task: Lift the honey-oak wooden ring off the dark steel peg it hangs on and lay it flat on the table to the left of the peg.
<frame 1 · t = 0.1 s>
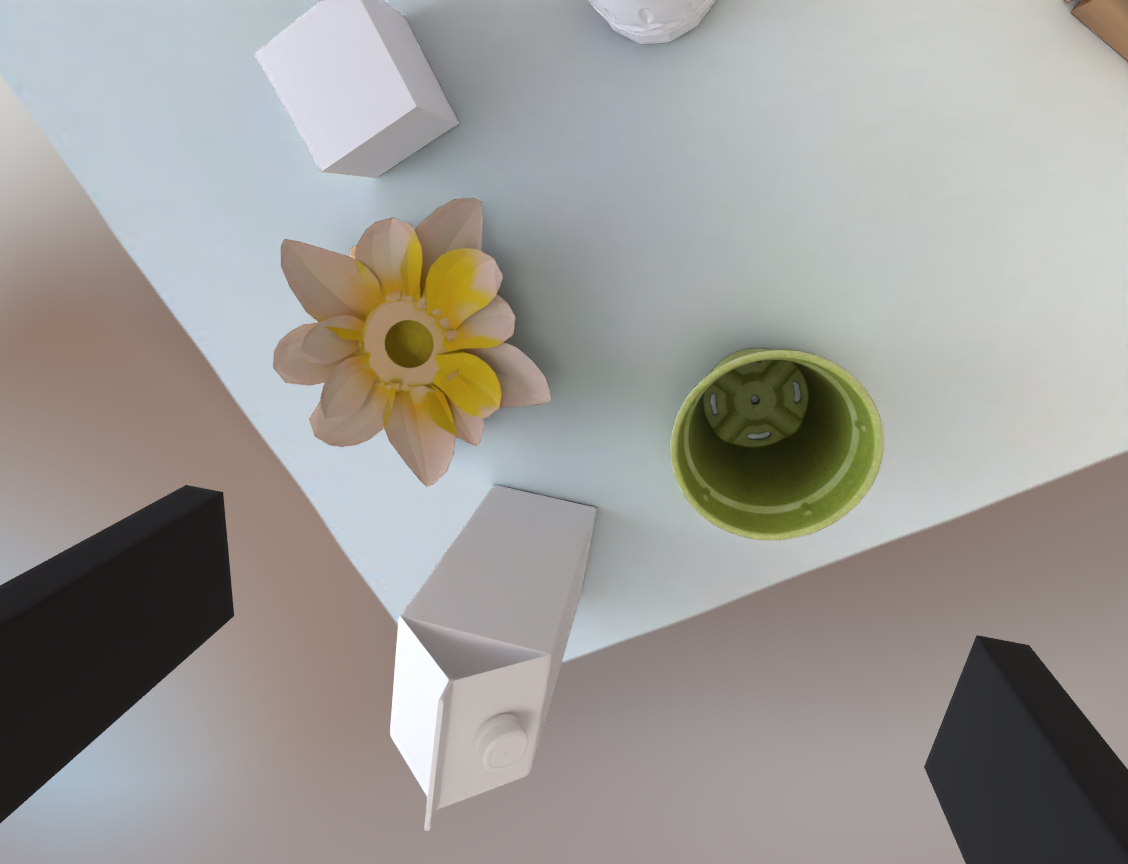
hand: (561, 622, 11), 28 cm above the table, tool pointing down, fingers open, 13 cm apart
decorative flower: (449, 337, 40), on the table
plant pot: (754, 398, 37), on the table
white cube: (391, 101, 36), on the table
milk carton: (538, 539, 43), on the table
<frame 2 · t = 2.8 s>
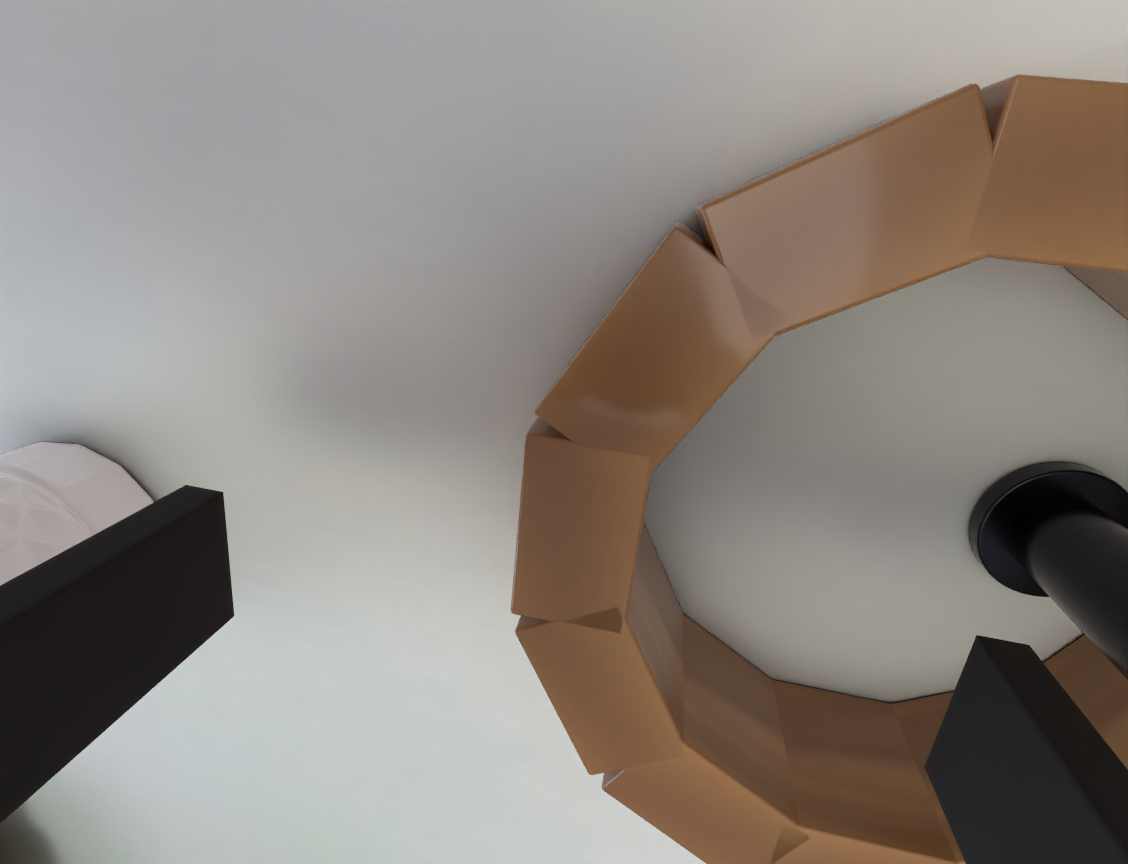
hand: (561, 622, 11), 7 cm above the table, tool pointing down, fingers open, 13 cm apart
white cup: (93, 526, 23), on the table
ring: (892, 500, 17), on the table
peg: (1044, 525, 16), on the table
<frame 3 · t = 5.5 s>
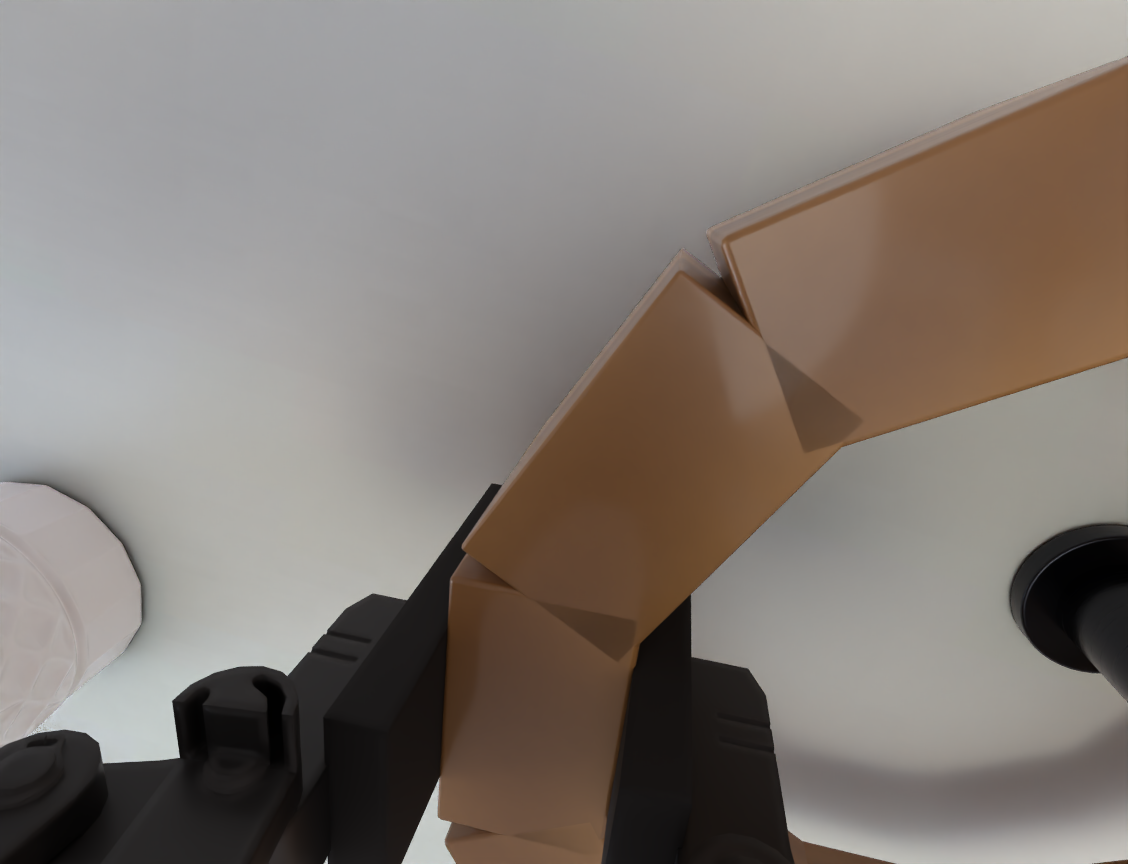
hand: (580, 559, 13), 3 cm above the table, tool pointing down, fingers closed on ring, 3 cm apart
white cup: (61, 570, 21), on the table
ring: (971, 626, 12), point 3 cm above the table, touching gripper
peg: (1096, 593, 15), on the table
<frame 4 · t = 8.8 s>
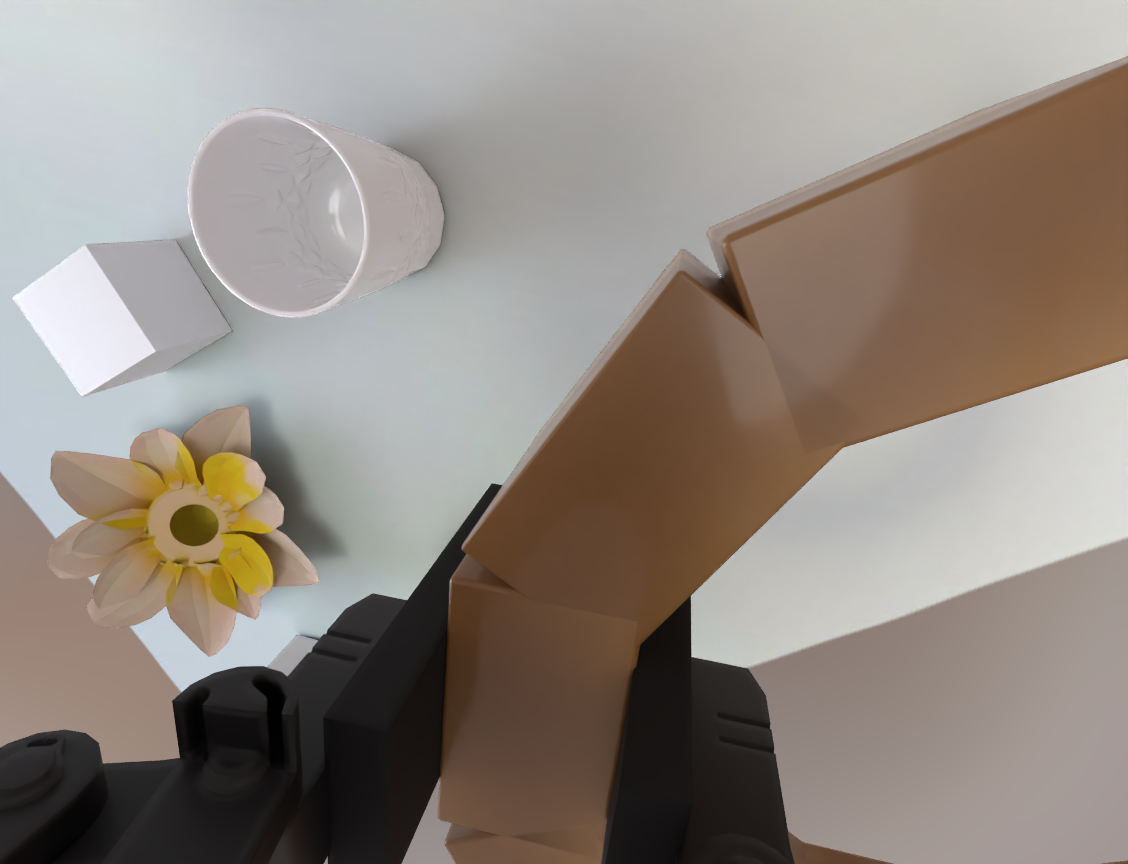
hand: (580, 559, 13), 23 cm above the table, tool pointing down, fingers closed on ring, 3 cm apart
white cup: (388, 215, 35), on the table
decorative flower: (245, 507, 43), on the table
white cube: (172, 307, 39), on the table
ring: (971, 626, 12), point 22 cm above the table, touching gripper
milk carton: (343, 681, 46), on the table
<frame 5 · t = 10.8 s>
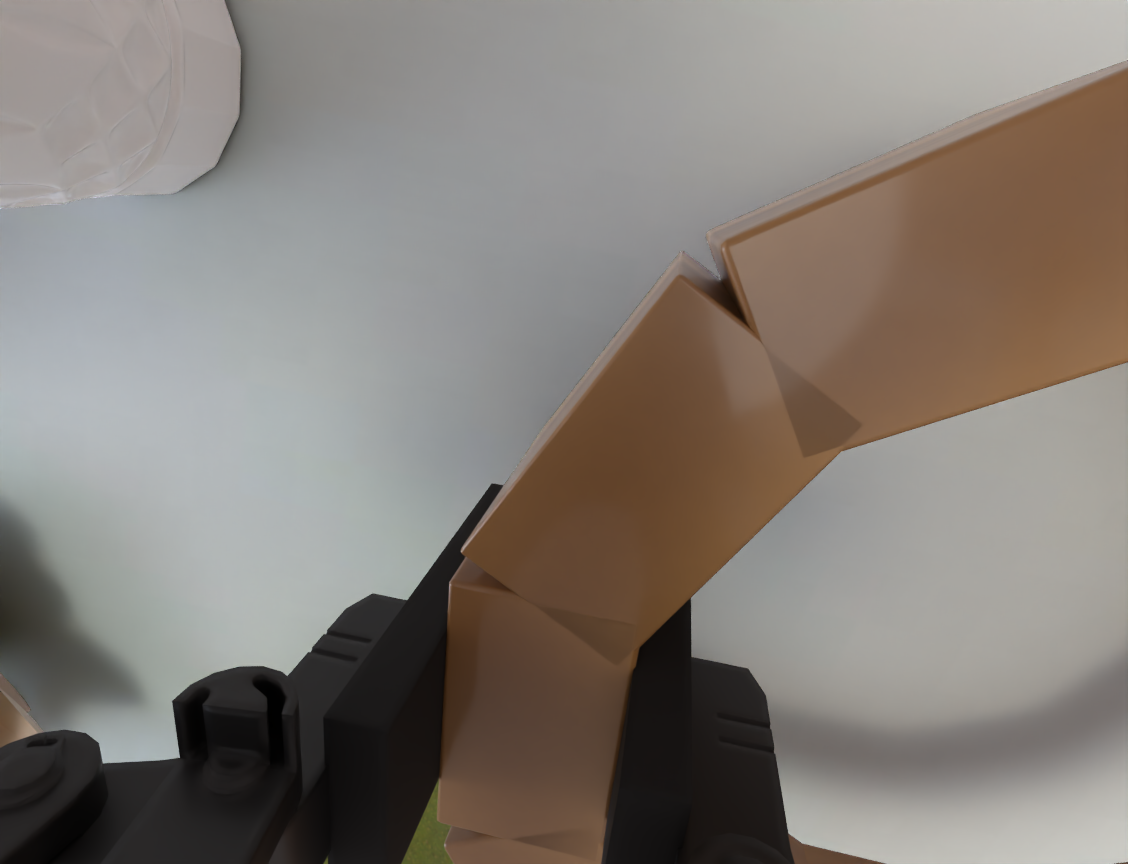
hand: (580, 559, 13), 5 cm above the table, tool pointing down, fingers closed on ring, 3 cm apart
white cup: (133, 59, 16), on the table
plant pot: (436, 745, 23), on the table
ring: (971, 628, 12), point 5 cm above the table, touching gripper
when the fingers open (0 cm above the table, at t = 12.5 s): ring stays where it is, on the table.
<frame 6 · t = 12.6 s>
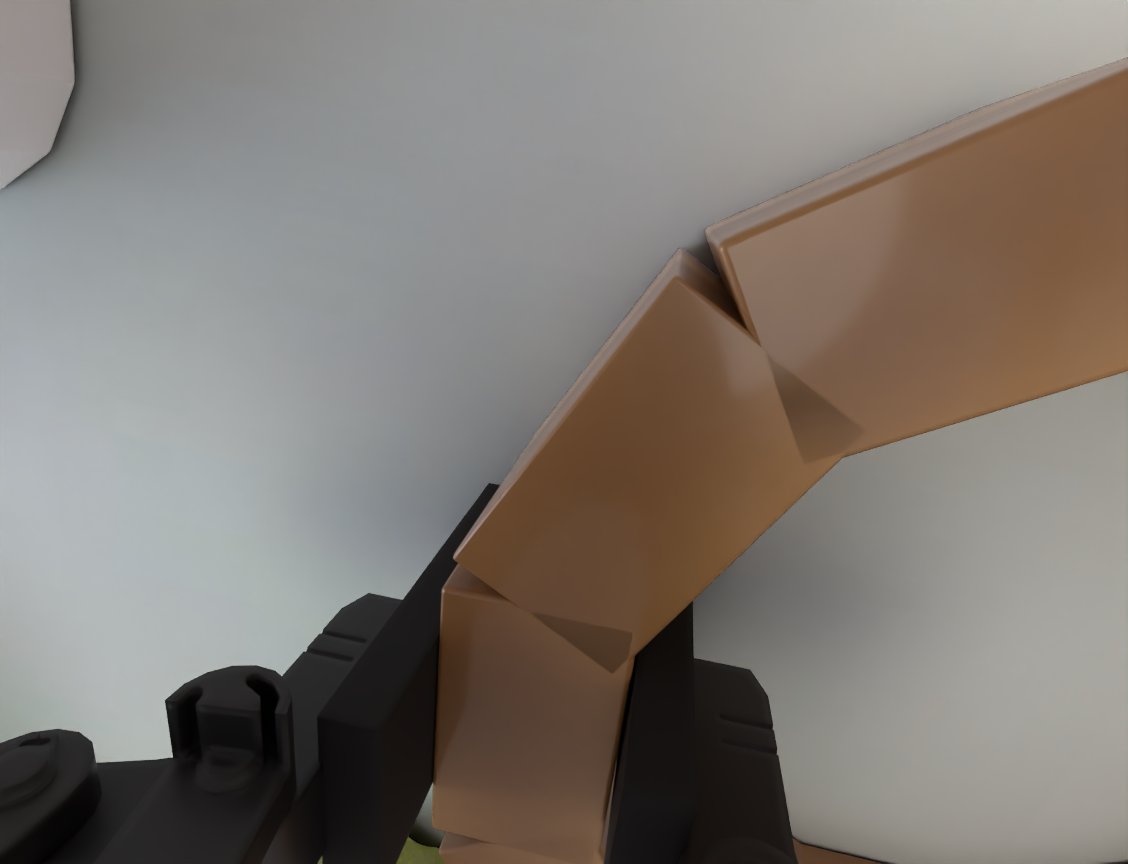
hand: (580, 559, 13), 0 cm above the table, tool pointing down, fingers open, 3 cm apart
ring: (972, 630, 12), on the table, touching gripper
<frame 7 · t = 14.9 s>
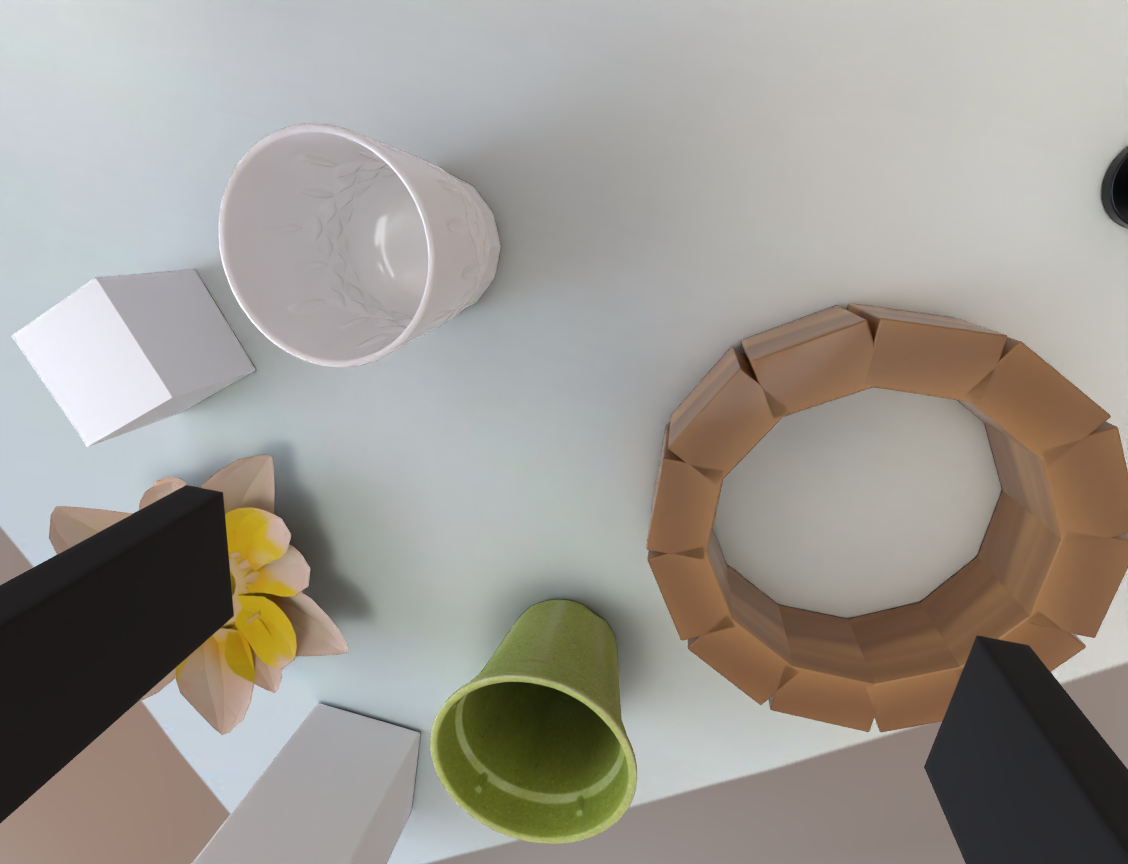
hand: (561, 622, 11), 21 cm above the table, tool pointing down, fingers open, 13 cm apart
white cup: (435, 245, 31), on the table
decorative flower: (264, 562, 39), on the table
plant pot: (565, 642, 36), on the table
white cube: (189, 343, 35), on the table
ring: (846, 498, 31), on the table
milk carton: (367, 754, 42), on the table
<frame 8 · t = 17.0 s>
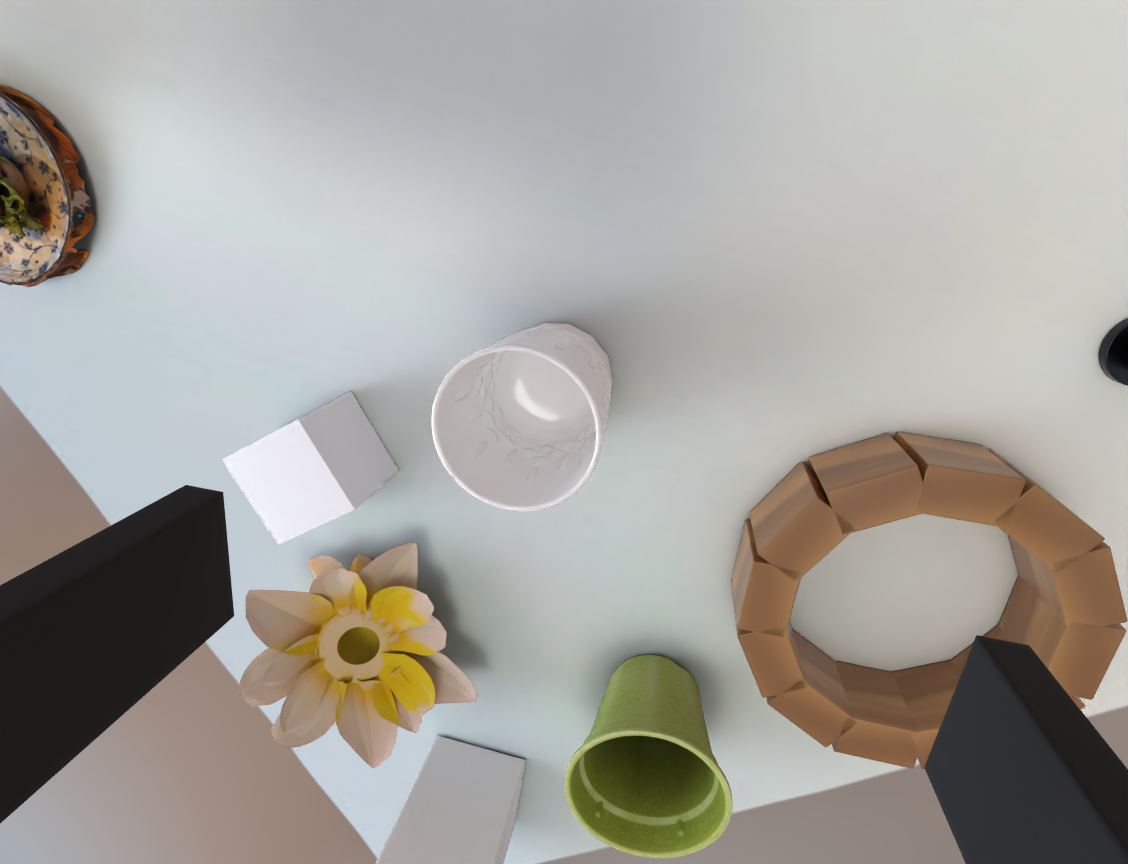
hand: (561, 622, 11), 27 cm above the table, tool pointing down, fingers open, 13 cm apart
white cup: (557, 377, 38), on the table
decorative flower: (395, 621, 46), on the table
plant pot: (653, 688, 44), on the table
white cube: (341, 447, 42), on the table
ring: (891, 578, 38), on the table
milk carton: (477, 777, 50), on the table
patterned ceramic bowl: (17, 188, 40), on the table
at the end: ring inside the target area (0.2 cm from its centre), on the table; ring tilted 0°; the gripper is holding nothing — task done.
